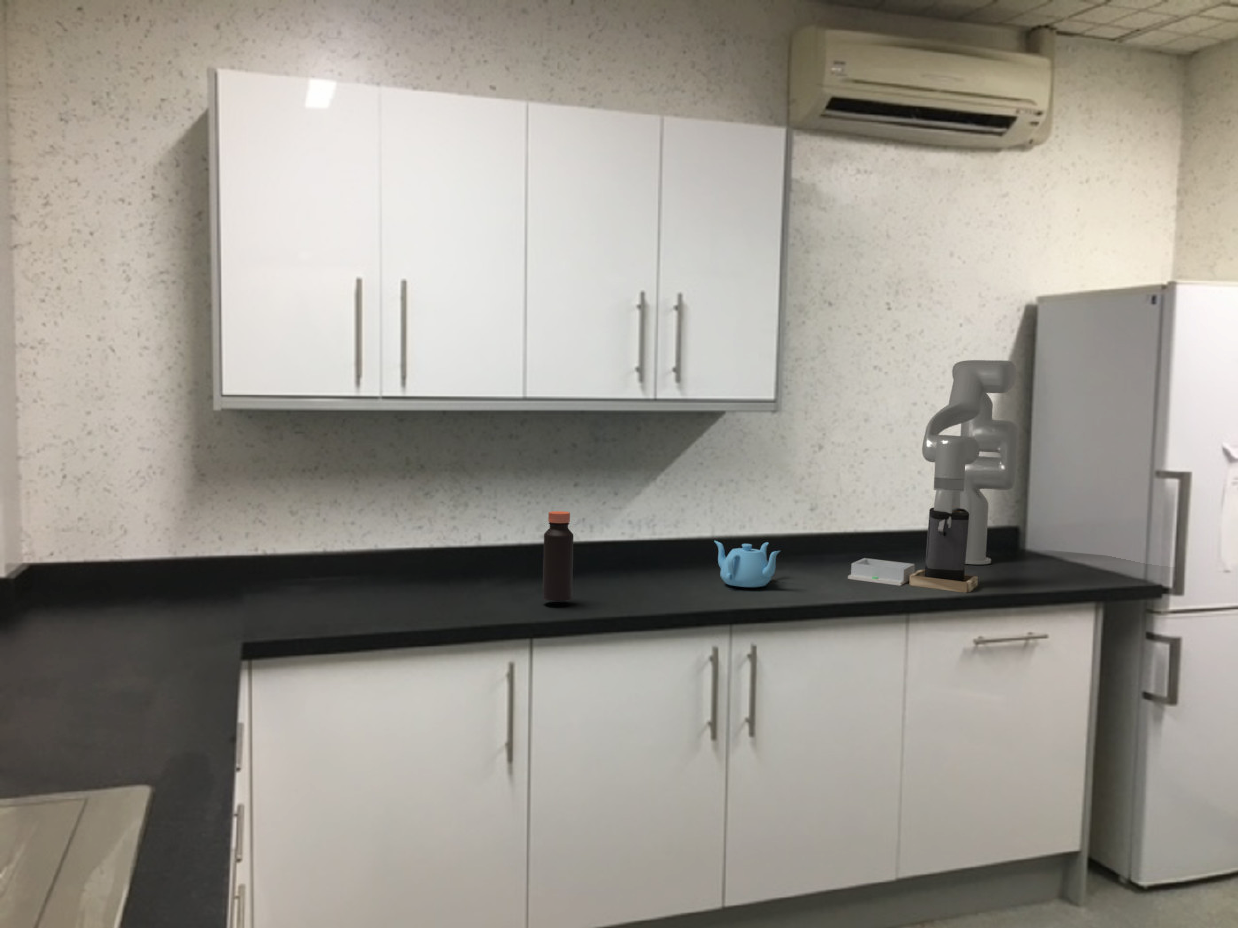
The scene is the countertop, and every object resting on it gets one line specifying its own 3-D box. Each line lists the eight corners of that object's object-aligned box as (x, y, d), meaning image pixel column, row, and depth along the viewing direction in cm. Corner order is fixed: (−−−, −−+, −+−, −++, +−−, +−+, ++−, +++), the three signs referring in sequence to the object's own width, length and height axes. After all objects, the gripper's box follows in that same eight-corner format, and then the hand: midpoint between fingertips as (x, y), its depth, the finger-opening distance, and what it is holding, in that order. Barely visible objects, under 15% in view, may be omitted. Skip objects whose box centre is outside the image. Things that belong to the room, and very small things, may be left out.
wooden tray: (920, 578, 251) (920, 569, 251) (978, 585, 243) (978, 576, 243) (908, 585, 241) (908, 575, 241) (968, 592, 233) (969, 583, 233)
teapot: (721, 589, 230) (723, 548, 229) (711, 577, 245) (713, 538, 244) (779, 590, 231) (781, 549, 230) (766, 578, 246) (768, 539, 245)
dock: (866, 570, 261) (866, 556, 261) (916, 576, 254) (917, 562, 254) (847, 578, 248) (848, 564, 247) (900, 585, 240) (901, 571, 240)
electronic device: (958, 582, 245) (964, 508, 241) (964, 588, 239) (971, 513, 235) (922, 580, 246) (928, 506, 242) (927, 586, 240) (933, 511, 236)
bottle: (536, 597, 214) (538, 511, 213) (561, 593, 219) (563, 510, 217) (553, 602, 209) (555, 515, 208) (577, 599, 213) (579, 513, 212)
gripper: (941, 481, 250) (938, 548, 251) (926, 486, 235) (922, 557, 237) (971, 483, 246) (967, 551, 247) (956, 488, 231) (953, 560, 233)
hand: (945, 553), depth 242 cm, fingers closed on electronic device, 4 cm apart
